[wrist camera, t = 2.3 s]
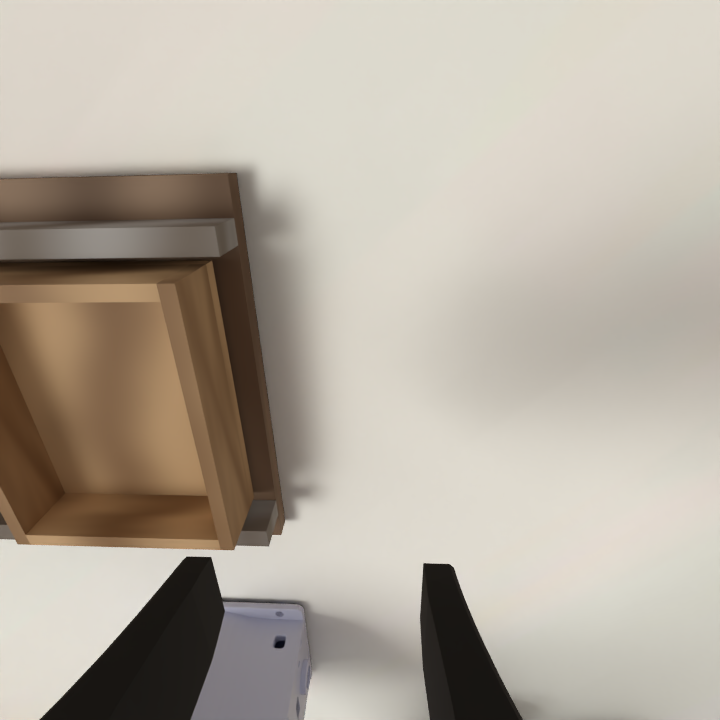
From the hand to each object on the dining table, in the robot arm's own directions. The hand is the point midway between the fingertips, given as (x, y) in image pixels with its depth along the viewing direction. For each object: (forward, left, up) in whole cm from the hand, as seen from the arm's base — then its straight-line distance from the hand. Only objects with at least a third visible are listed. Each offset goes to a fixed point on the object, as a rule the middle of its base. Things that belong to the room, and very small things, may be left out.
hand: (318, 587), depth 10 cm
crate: (+10, 0, -9) cm, 14 cm away
